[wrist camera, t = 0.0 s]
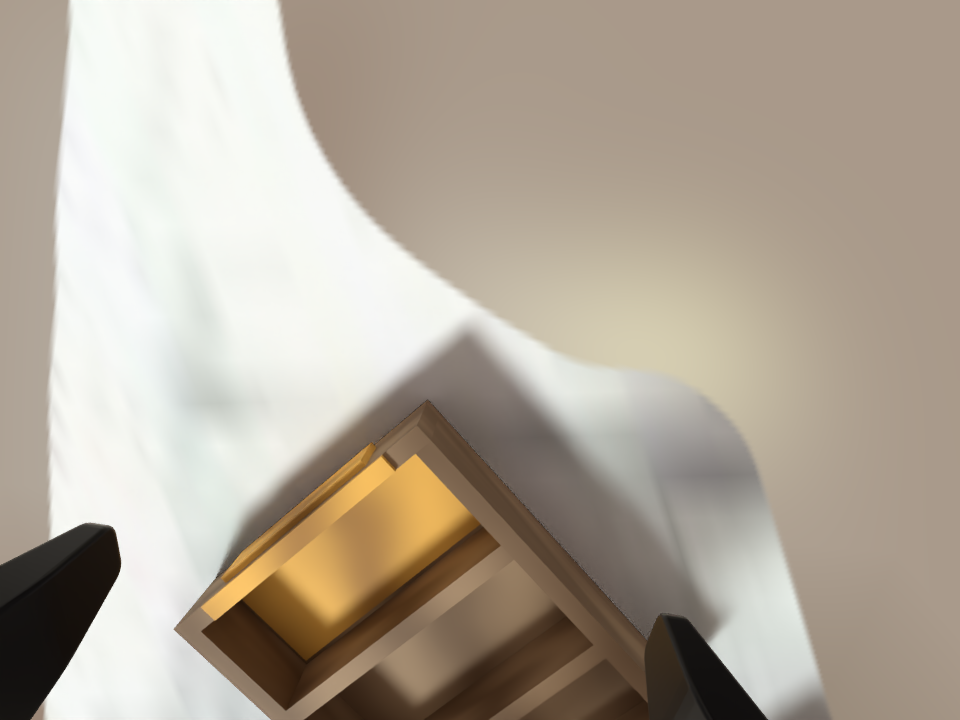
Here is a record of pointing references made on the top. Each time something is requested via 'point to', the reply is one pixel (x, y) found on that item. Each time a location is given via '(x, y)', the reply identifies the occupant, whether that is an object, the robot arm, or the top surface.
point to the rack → (417, 601)
